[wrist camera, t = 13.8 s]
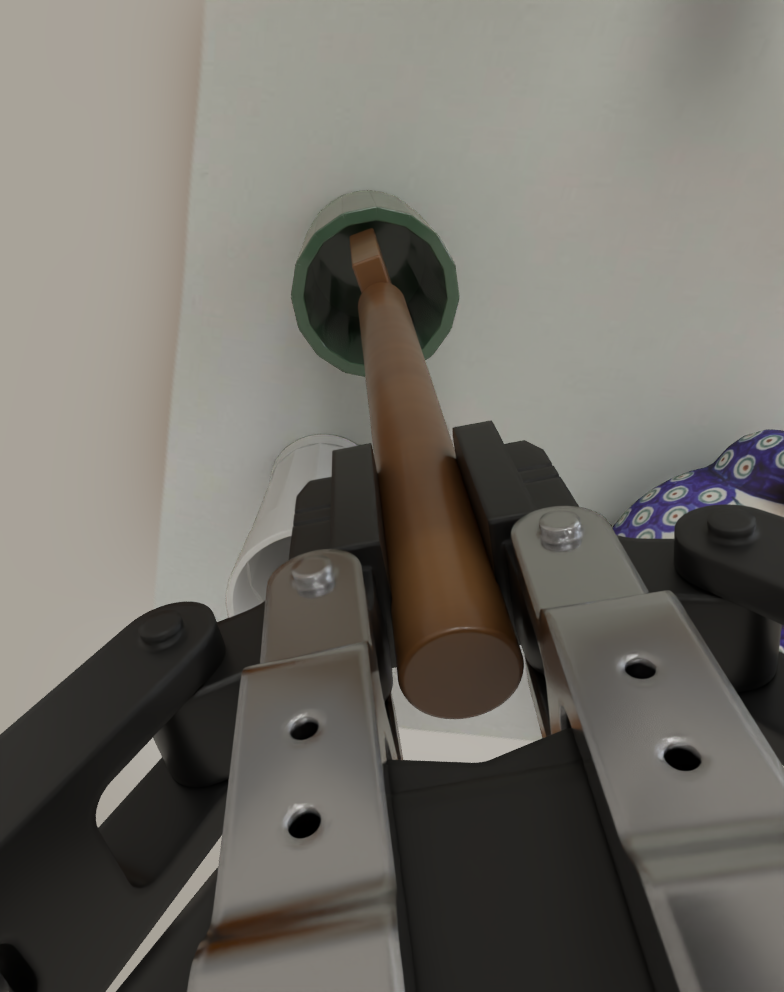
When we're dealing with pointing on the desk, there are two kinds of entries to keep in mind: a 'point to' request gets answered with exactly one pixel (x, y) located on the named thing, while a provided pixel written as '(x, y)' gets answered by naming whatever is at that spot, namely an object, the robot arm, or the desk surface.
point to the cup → (278, 518)
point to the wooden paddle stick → (428, 520)
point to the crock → (334, 288)
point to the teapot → (714, 489)
